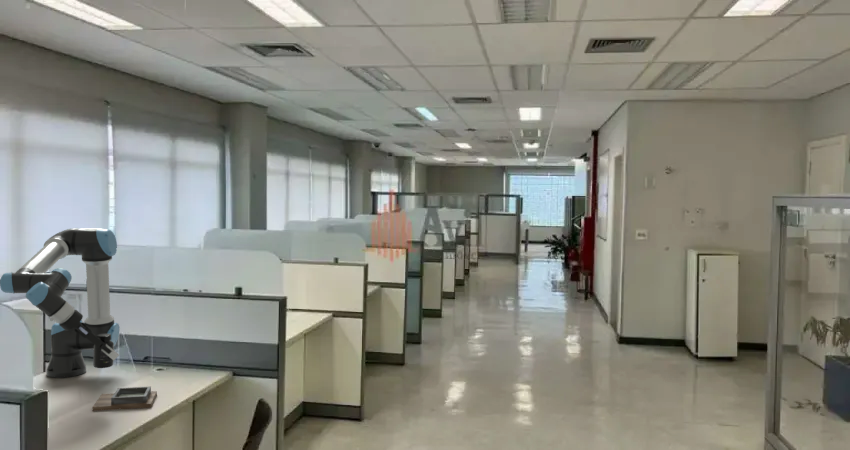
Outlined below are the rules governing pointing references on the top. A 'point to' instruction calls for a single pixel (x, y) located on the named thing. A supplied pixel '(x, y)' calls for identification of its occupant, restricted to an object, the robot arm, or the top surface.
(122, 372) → the top surface
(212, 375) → the top surface
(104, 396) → the base board
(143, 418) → the top surface
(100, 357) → the supplement bottle
